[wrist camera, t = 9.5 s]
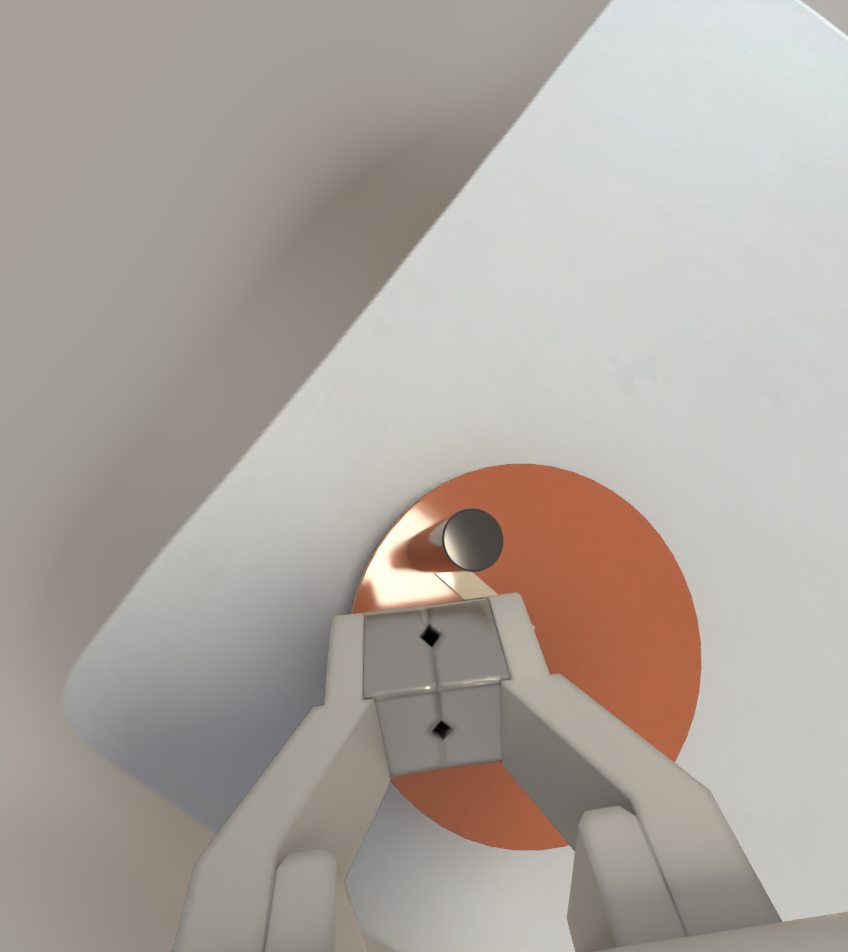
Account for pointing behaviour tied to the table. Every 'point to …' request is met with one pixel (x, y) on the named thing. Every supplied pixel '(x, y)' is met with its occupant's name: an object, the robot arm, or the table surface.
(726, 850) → the robot arm
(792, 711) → the table surface
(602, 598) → the orange turntable with peg
